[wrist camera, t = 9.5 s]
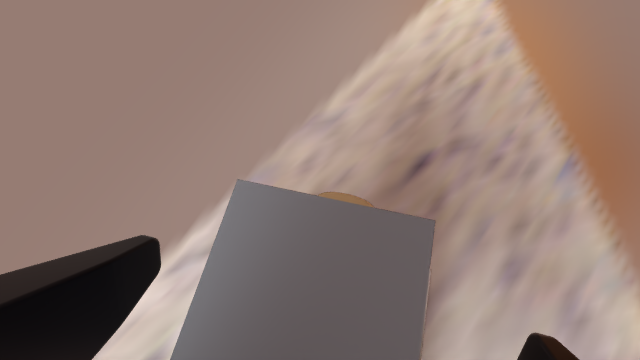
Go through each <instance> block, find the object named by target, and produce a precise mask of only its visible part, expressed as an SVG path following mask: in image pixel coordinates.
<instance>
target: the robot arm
mask: <svg viewBox="0 0 640 360" xmlns="http://www.w3.org/2000/svg"><path fill="white" fill-rule="evenodd" d="M160 268H161V256H160V244H159V241H158V239H156V238H153V237H149V236H146V235H140V236H137V237H133V238H129V239H126V240H122V241H119V242H115V243H112V244H108V245H105V246H101V247H97V248H94V249H90V250H87V251H83V252H80V253H76V254H72V255H69V256H65V257H62V258H58V259H55V260H51V261H47V262H44V263H41V264H37V265H33V266H30V267H26V268H23V269H19V270H15V271H12V272H8V273H5V274H1V275H0V360H92V359H93V358H94V356H95V355H96V354H97V353H98V352H99V351H100V349H101V348H102V347H103V346H104V345H105V344H106V343H107V341H108V340H109V339H110V338H111V337H112V336H113V334H114V333H115V332H116V331H117V330H118V328H119V327H120V326H121V325H122V323H123V322H124V321H125V319H126V318H127V317H128V315H129V314H130V313H131V311H132V310H133V308H134V307H135V306H136V304H137V303H138V301H139V300H140V299H141V297H142V296H143V294H144V293H145V292H146V290H147V289H148V287H149V286H150V285H151V283H152V282H153V280H154V279H155V278H156V276H157V275H158V273H159V271H160ZM517 360H579V359H578V358H577V357H576V356H575V355H574V354H572V353H571V352H570V351H569V350H568V349H567V348H566V347H564V346H563V345H562V344H561V343H560V342H559V341H558V340H556V339H555V338H553V337H551V336H547V335H543V334H539V333H531V334H530V335H529V337H528V338H527V340H526V342H525V344H524V346H523V349H522V351H521V353H520V355H519V357H518V359H517Z"/></svg>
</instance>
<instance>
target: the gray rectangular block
mask: <svg viewBox="0 0 640 360" xmlns="http://www.w3.org/2000/svg"><path fill="white" fill-rule="evenodd" d="M434 227H435V220H430V219H426V218H421V217H416V216H411V215H406V214H402V213H397V212H392V211H387V210H383V209H378V208H374V207H373V206H372V205H371V204H370V203H369V202H367V201H365V200H363V199H361V198H359V197H356V196H353V195H349V194H344V193H338V192H326V193H321V194H319V195H318V196H316V195H311V194H306V193H301V192H296V191H292V190H287V189H282V188H277V187H273V186H268V185H263V184H258V183H253V182H249V181H244V180H239V179H238V180H237V182H236V185H235V188H234V190H233V193H232V196H231V198H230V201H229V204H228V206H227V209H226V212H225V214H224V217H223V220H222V222H221V225H220V228H219V230H218V233H217V236H216V238H215V241H214V244H213V246H212V249H211V252H210V255H209V257H208V260H207V263H206V265H205V268H204V271H203V273H202V276H201V279H200V281H199V284H198V287H197V289H196V292H195V295H194V297H193V300H192V303H191V305H190V308H189V311H188V313H187V316H186V319H185V321H184V324H183V327H182V329H181V332H180V335H179V337H178V340H177V343H176V345H175V348H174V351H173V353H172V356H171V359H170V360H419V356H420V348H421V339H422V330H423V322H424V313H425V305H426V296H427V288H428V279H429V270H430V262H431V253H432V245H433V236H434Z"/></svg>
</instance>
